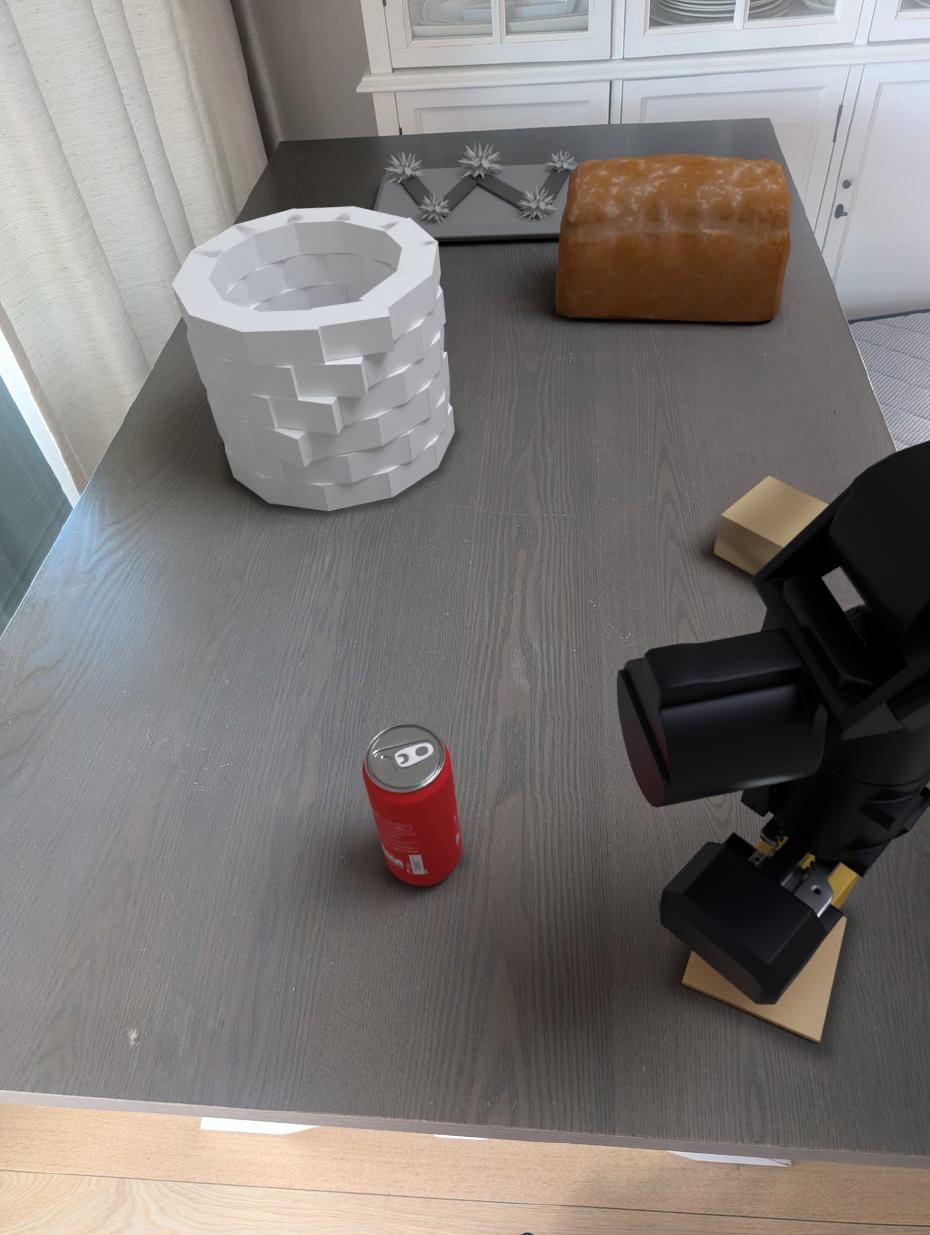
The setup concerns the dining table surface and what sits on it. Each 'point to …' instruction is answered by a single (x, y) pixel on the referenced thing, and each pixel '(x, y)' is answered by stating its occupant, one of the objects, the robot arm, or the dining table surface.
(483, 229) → the decorative plate
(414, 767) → the beverage can
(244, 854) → the dining table surface
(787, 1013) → the cork coaster
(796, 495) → the birch block
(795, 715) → the robot arm
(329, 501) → the basket
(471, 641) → the dining table surface
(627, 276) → the bread
